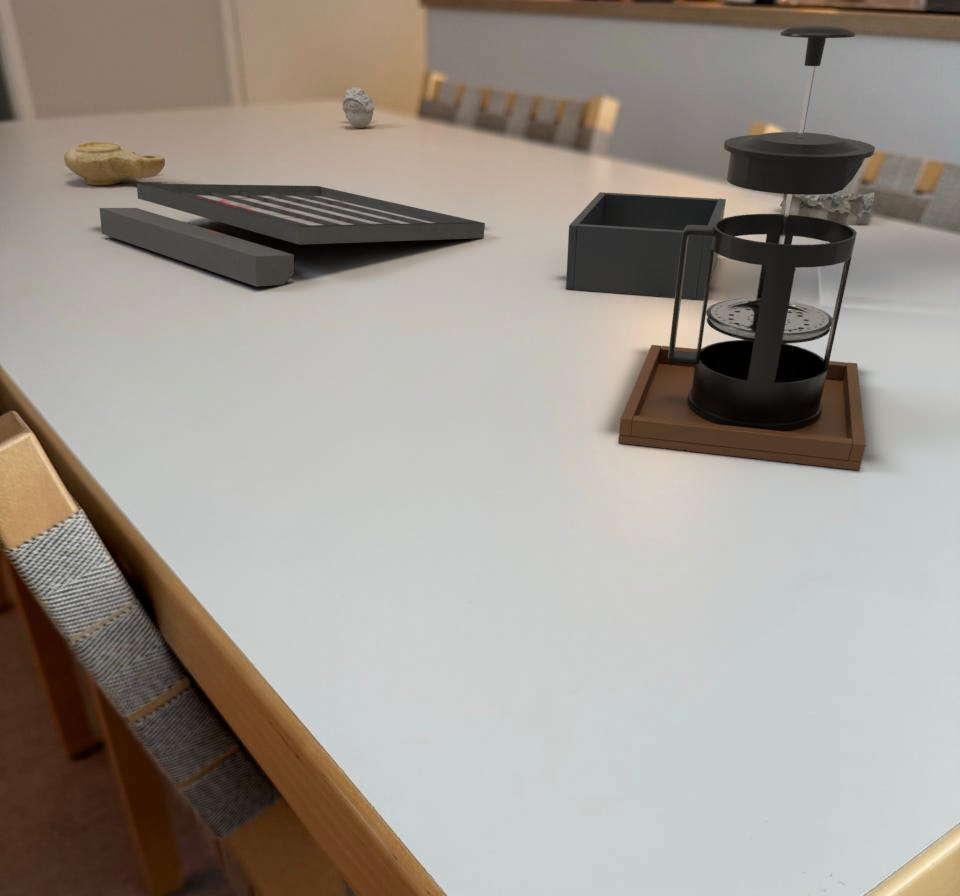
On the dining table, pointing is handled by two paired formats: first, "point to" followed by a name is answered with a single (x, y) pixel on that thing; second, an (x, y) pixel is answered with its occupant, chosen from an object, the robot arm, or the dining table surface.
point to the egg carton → (832, 207)
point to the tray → (672, 424)
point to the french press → (773, 275)
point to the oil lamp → (110, 163)
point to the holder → (641, 244)
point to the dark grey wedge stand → (270, 225)
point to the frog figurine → (358, 107)
